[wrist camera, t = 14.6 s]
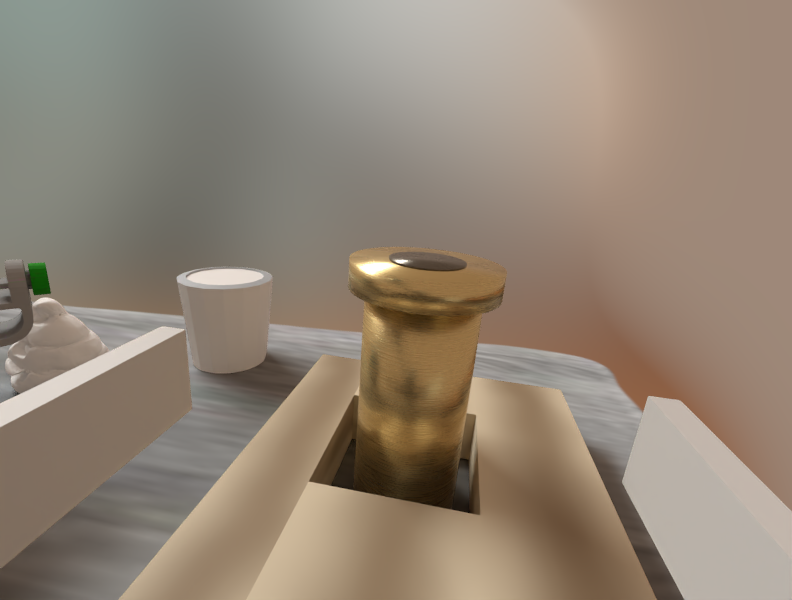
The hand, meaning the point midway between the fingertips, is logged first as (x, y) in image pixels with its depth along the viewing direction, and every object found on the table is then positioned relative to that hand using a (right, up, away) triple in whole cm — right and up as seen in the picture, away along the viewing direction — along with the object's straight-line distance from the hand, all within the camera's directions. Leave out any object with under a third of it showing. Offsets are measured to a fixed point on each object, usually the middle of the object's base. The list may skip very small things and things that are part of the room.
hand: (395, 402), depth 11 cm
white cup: (-14, -2, +21) cm, 25 cm away
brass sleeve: (0, -7, +9) cm, 11 cm away
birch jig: (+1, -7, +8) cm, 11 cm away
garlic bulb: (-23, -3, +16) cm, 28 cm away
